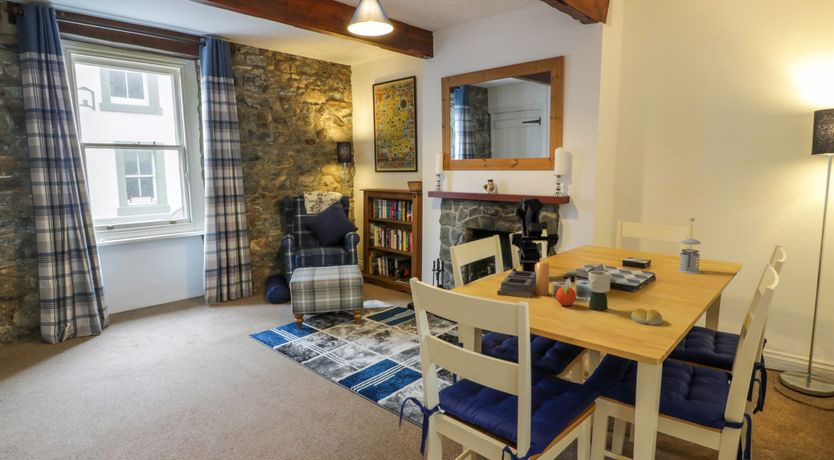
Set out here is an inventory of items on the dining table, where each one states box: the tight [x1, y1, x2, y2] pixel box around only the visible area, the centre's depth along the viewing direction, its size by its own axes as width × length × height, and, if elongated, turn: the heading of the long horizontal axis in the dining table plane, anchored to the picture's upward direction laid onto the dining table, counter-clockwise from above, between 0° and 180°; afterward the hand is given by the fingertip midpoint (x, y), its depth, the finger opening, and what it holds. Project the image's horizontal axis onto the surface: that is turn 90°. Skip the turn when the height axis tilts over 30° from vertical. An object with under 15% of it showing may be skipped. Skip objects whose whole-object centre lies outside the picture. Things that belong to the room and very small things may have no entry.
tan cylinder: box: [535, 261, 550, 297], centre depth 183 cm, size 5×5×12 cm
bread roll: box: [630, 308, 663, 326], centre depth 151 cm, size 8×9×4 cm
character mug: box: [587, 270, 611, 311], centre depth 163 cm, size 11×7×13 cm, turn 134°
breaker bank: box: [496, 268, 536, 299], centre depth 193 cm, size 25×13×6 cm, turn 157°
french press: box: [676, 217, 702, 275], centre depth 213 cm, size 10×12×25 cm
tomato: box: [555, 285, 577, 307], centre depth 168 cm, size 8×7×7 cm
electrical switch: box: [587, 263, 605, 275], centre depth 192 cm, size 9×5×9 cm, turn 141°
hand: (536, 257), depth 189 cm, fingers open, 9 cm apart
